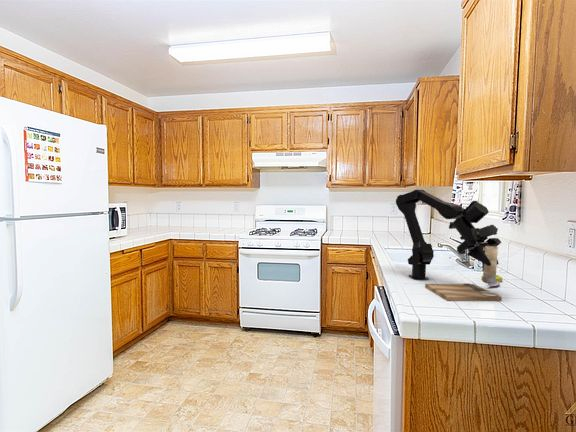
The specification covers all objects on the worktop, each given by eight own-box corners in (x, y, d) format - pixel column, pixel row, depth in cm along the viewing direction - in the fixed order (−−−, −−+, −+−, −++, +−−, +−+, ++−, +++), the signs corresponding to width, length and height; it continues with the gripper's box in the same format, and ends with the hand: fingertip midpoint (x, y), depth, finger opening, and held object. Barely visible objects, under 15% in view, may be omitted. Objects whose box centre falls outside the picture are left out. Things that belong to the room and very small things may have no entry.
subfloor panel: (425, 287, 137) (425, 282, 137) (473, 287, 138) (473, 283, 138) (447, 300, 120) (447, 295, 120) (501, 300, 122) (501, 295, 121)
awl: (481, 281, 124) (483, 246, 123) (484, 279, 127) (486, 245, 126) (493, 284, 121) (496, 248, 120) (496, 282, 124) (499, 246, 123)
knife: (501, 291, 134) (502, 278, 155) (502, 285, 134) (502, 273, 155) (479, 288, 139) (482, 276, 160) (479, 282, 139) (483, 270, 160)
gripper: (466, 217, 121) (494, 253, 113) (497, 216, 130) (526, 250, 121) (445, 236, 129) (471, 271, 120) (476, 234, 138) (502, 267, 129)
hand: (493, 264), depth 122 cm, fingers closed on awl, 4 cm apart
